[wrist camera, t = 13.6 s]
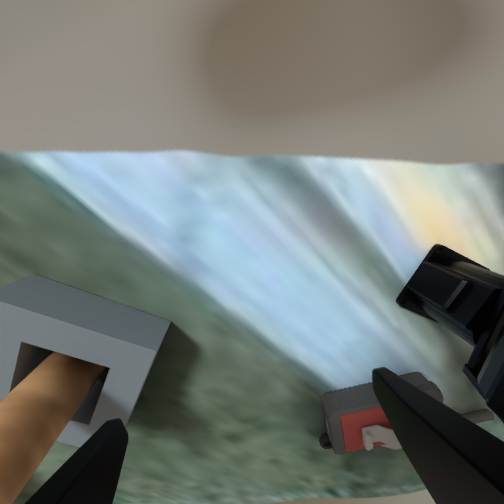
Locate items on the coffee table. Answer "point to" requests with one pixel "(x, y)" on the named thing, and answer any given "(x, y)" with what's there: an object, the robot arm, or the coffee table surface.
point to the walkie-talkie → (370, 417)
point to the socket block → (78, 346)
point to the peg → (39, 416)
